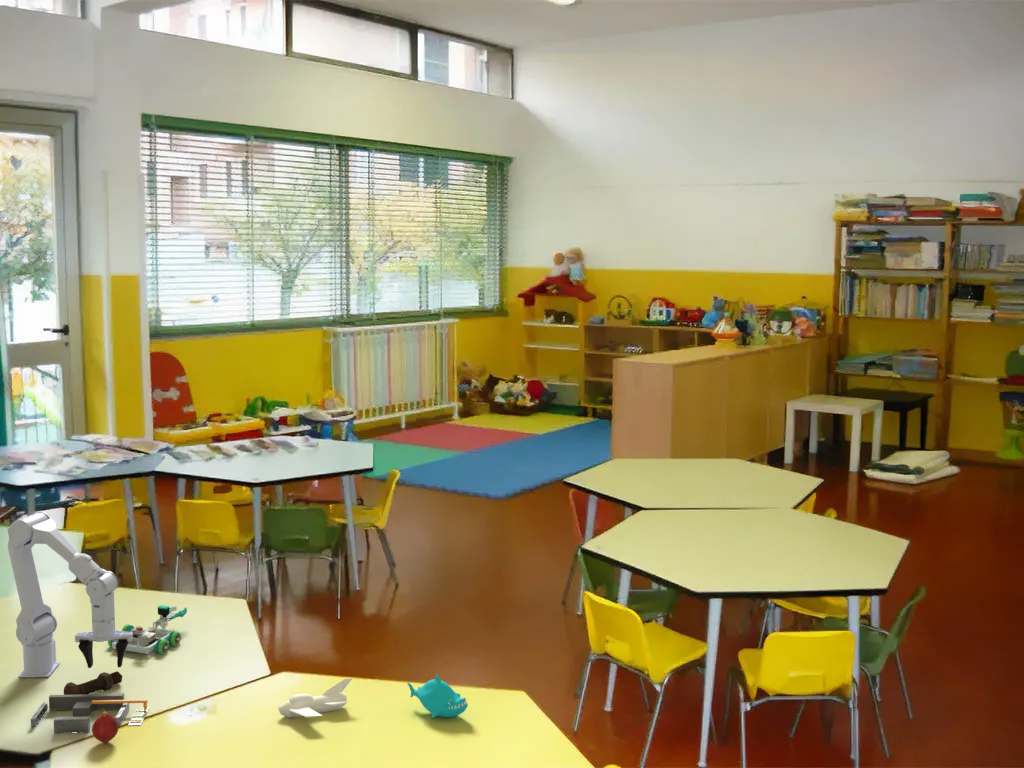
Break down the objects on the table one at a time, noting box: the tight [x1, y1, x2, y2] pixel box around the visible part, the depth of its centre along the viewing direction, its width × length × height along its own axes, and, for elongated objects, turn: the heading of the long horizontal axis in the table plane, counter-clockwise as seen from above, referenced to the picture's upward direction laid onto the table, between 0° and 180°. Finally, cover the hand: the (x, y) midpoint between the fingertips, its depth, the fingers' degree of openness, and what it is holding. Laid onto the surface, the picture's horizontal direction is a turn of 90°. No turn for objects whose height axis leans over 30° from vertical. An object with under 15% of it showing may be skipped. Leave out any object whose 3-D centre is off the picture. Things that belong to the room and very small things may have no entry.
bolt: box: [63, 670, 123, 695], centre depth 274 cm, size 6×5×15 cm
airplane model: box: [277, 677, 353, 719], centre depth 267 cm, size 20×20×8 cm
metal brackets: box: [30, 701, 150, 734], centre depth 259 cm, size 12×26×4 cm, turn 96°
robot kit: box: [107, 605, 188, 655], centre depth 309 cm, size 19×25×9 cm
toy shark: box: [407, 673, 469, 718], centre depth 268 cm, size 10×18×11 cm, turn 62°
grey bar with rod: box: [48, 693, 148, 717], centre depth 263 cm, size 6×24×4 cm, turn 96°
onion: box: [91, 711, 119, 745], centre depth 248 cm, size 6×6×8 cm
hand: (105, 666), depth 281 cm, fingers open, 7 cm apart
